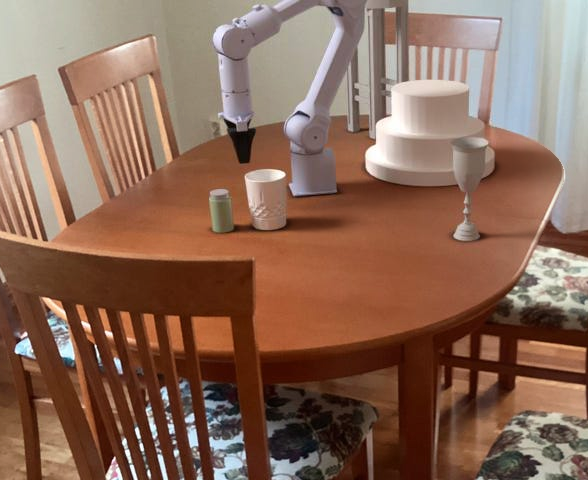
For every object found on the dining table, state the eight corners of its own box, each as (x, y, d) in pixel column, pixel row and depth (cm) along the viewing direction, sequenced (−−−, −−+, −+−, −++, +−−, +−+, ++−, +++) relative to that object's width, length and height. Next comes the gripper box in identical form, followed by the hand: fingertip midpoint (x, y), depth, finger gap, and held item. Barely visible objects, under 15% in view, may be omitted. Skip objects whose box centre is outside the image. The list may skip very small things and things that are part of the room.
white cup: (297, 222, 184) (293, 173, 178) (272, 234, 178) (268, 184, 173) (266, 215, 187) (262, 166, 182) (241, 227, 182) (236, 177, 176)
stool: (382, 120, 251) (380, -20, 233) (419, 131, 241) (420, -14, 223) (337, 130, 242) (331, -14, 224) (373, 142, 232) (370, -8, 214)
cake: (512, 179, 205) (517, 98, 196) (382, 191, 199) (380, 108, 190) (471, 143, 230) (473, 70, 221) (354, 153, 224) (351, 77, 215)
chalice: (473, 245, 172) (476, 150, 163) (441, 238, 175) (443, 144, 166) (491, 233, 177) (495, 140, 168) (460, 226, 181) (462, 135, 171)
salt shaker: (233, 224, 183) (229, 187, 179) (235, 231, 179) (231, 194, 175) (211, 226, 182) (207, 189, 178) (213, 233, 179) (208, 196, 175)
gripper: (213, 83, 188) (220, 149, 195) (218, 99, 176) (225, 169, 183) (247, 81, 189) (253, 146, 196) (255, 97, 177) (261, 166, 184)
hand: (242, 157), depth 190 cm, fingers open, 7 cm apart
